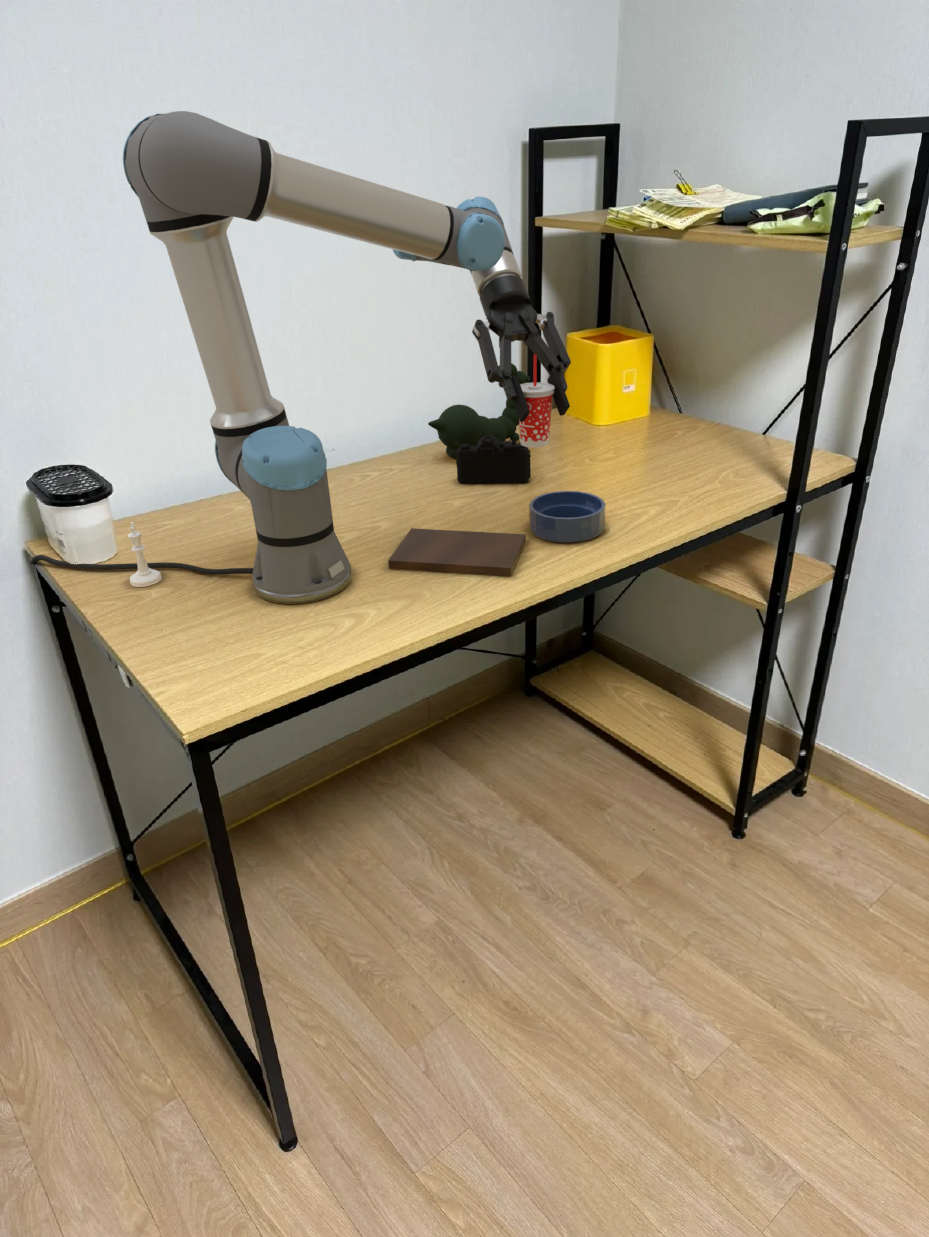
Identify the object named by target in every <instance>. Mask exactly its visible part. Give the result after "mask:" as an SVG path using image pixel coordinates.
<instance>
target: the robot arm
mask: <svg viewBox="0 0 929 1237" xmlns="http://www.w3.org/2000/svg"><path fill="white" fill-rule="evenodd" d="M122 164H123V171H124V175H125V178H126V181H127V183H128V184H129V187H130V188H131V190H132V191H133V193H134V194H135V195H136V196H137V197H138V200H139V203H140V206H141V210H142V212H143V216H144V218H145V222H146V225H147V228H148V232H149V234H150V235H151V236H152V237H154V238H156V239H157V240H159V241H161V242H162V243H163V244H164V246H165V248H166V251H167V255H168V258H169V262H170V265H171V268H172V270H173V274H174V277H175V280H176V283H177V286H178V290H179V293H180V297H181V300H182V302H183V306H184V310H185V312H186V315H187V318H188V323H189V325H190V328H191V332H192V335H193V339H194V342H195V344H196V348H197V351H198V354H199V357H200V360H201V364H202V367H203V370H204V371H203V372H204V373H205V377H206V380H207V383H208V387H209V389H210V393H211V397H212V399H213V402H214V405H215V410H214V412H213V414H212V416H211V417H210V419H209V423H210V426H211V430H212V433H213V436H214V439H215V441H214V454H215V458H216V461H217V465H218V467H219V469H220V471H221V472H222V474H223V476H224V477H225V478H226V479H227V480H228V481H229V482H230V483H232V484H233V485H234V486H235V487H236V488H237V489H238V490H239V491H240V492H241V493H242V494H243V495H244V496H245V497H246V498H247V499H248V500H249V502H250V506H251V511H252V516H253V522H254V527H255V534H256V538H257V546H256V551H255V557H254V563H253V567H232V568H230V567H229V568H207V567H202V566H201V567H200V566H197V565H192V564H189V563H182V562H165V561H163V562H146V563H147V565H148V567H149V568H151V569H152V570H153V569H177V570H185V571H189V572H193V573H196V574H197V573H198V574H200V575H201V574H202V575H208V576H210V575H211V576H223V575H252V585H253V590H254V593H255V594H256V595H257V596H258V597H259V598H261V599H263V600H265V601H267V602H271V603H276V604H282V605H296V604H299V605H300V604H308V603H313V602H317V601H321V600H325V599H328V598H330V597H332V596H335V595H336V594H338V593H340V592H342V591H343V590H344V589H346V588H347V587H348V586H349V585H350V583H351V581H352V579H353V575H352V566H351V564H350V560H349V558H348V557H347V554H346V552H345V550H344V548H343V546H342V544H341V542H340V540H339V538H338V536H337V534H336V532H335V525H334V518H333V510H332V503H331V494H330V493H331V492H330V487H329V479H328V471H327V467H328V465H327V463H328V462H327V457H326V453H325V450H324V447H323V442H322V441H321V439H320V437H318V435H317V434H315V432H313V431H311V430H309V429H306V428H303V427H297V428H296V427H295V426H294V425H293V426H292V425H290V423H289V421H288V420H289V419H288V416H287V412H286V408H285V405H284V403H283V402H282V401H281V400H278V399H277V398H276V397H274V396H273V395H272V394H271V390H270V387H269V384H268V379H267V376H266V373H265V369H264V365H263V362H262V358H261V354H260V350H259V347H258V343H257V339H256V336H255V331H254V329H253V324H252V321H251V318H250V314H249V310H248V306H247V303H246V299H245V296H244V292H243V288H242V285H241V280H240V278H239V273H238V269H237V266H236V263H235V258H234V256H233V251H232V249H231V248H232V247H231V243H230V240H229V236H228V228H229V226H230V225H231V223H232V221H233V219H234V218H239V219H243V220H247V221H251V222H254V223H257V222H259V221H261V220H262V219H264V218H265V217H268V218H272V219H276V220H279V221H282V222H286V223H287V222H288V223H290V224H295V225H299V226H303V227H306V228H310V229H313V230H318V231H321V232H326V233H329V234H333V235H337V236H340V237H344V238H348V239H352V240H356V241H360V242H364V243H367V244H370V245H375V246H379V247H383V248H387V249H391V250H392V252H393V253H394V255H395V256H396V258H398V259H400V260H405V261H406V260H407V261H412V262H416V261H417V262H418V261H419V262H429V263H435V264H440V265H445V266H452V267H456V268H461V269H465V270H468V271H469V273H470V275H471V277H472V281H473V283H474V286H475V289H476V292H477V294H478V297H479V301H480V305H481V306H482V307H481V308H482V310H483V314H484V316H485V317H486V319H484V320H482V319H476V320H475V322H474V325H473V328H472V331H471V333H472V335H473V336H474V338H475V339H476V341H477V343H478V346H479V351H480V355H481V358H482V363H483V365H484V366H483V367H484V370H485V374H486V377H487V381H488V382H489V383H491V384H493V383H495V382H496V383H498V384H497V385H498V387H499V388H501V389H503V391H504V394H505V397H506V400H507V399H508V401H513V403H514V406H515V409H516V412H517V415H518V417H519V420H520V422H523V421H525V419H526V418H527V416H528V414H529V409H528V406H527V403H526V400H525V397H524V394H523V391H522V388H521V386H520V383H519V380H518V377H517V375H515V376H512V378H511V363H512V343H513V342H515V341H518V342H523V344H524V345H525V346H526V347H528V348H529V349H530V350H531V352H532V353H533V355H534V354H537V361H539V362H540V364H541V365H542V366H543V368H544V369H545V371H546V372H547V374H548V375H549V376H548V378H547V379H546V380H547V383H548V384H551V385H553V386H554V387H555V389H554V394H553V398H552V399H553V400H554V401H553V402H554V403H555V406H556V409H557V411H558V415H559V416H560V417H561V416H562V417H563V416H565V415H566V413H568V412H567V411H568V410H569V409H570V408H571V405H570V402H569V399H568V397H567V393H566V392H567V390H568V384H567V380H566V378H565V373H566V372H567V371H568V368H569V367H570V365H571V363H572V360H571V358H570V356H569V354H568V351H567V349H566V347H565V344H564V342H563V340H562V338H561V336H560V332H559V331H558V329H557V327H556V324H555V314H554V313H553V312H552V311H547V312H546V314H542V313H541V314H540V313H537V311H536V310H535V309H534V308H533V307H532V303H531V298H530V295H529V292H528V289H527V286H526V283H525V281H524V280H523V275H522V273H521V269H520V268H519V267H520V266H519V264H518V262H517V260H516V256H515V254H514V251H513V248H512V246H511V242H510V240H509V237H508V233H507V230H506V228H505V223H504V220H503V218H502V216H501V214H500V212H499V211H498V209H497V206H496V204H495V203H494V201H492V200H491V199H489V198H488V197H485V196H475V197H474V198H472V199H470V198H467V199H465V200H463V201H462V202H461V203H459V205H457V207H454V206H450V205H445V204H444V203H441V202H438V201H434V200H431V199H428V198H424V197H422V196H418V195H415V194H412V193H408V192H406V191H402V190H399V189H395V188H392V187H389V186H385V185H383V184H379V183H377V182H373V181H369V180H366V179H363V178H359V177H357V176H353V175H350V174H346V173H345V172H344V173H343V172H340V171H336V170H334V169H331V168H327V167H324V166H321V165H318V164H314V163H311V162H309V161H305V160H302V159H297V158H294V157H291V156H288V155H285V154H282V153H280V152H279V153H278V152H276V151H275V149H274V147H273V146H272V143H271V142H270V141H269V140H266V139H263V138H259V137H258V136H254V135H251V134H248V133H245V132H243V131H240V130H238V129H235V128H233V127H230V126H229V125H226V124H224V123H222V122H219V121H217V120H215V119H212V118H209V117H207V116H206V115H203V114H199V113H197V112H192V111H188V110H177V111H171V112H167V113H156V114H153V115H149V116H146V117H144V118H143V119H142V120H140V121H138V123H136V124H135V126H134V127H133V128H132V129H131V130H130V132H129V134H128V135H127V138H126V140H125V142H124V146H123V150H122ZM535 324H537V325H538V327H539V329H538V327H537V326H536V325H535ZM490 331H491V332H493V333H494V334H495V335H497V337H498V348H499V364H498V361H497V356H496V352H495V349H494V345H493V341H492V337H491V334H490ZM540 331H542V335H543V338H542V336H541V335H540ZM499 365H500V370H499V367H498V366H499ZM39 561H42V562H46V563H48V564H50V565H52V566H53V565H54V566H56V567H62V568H69V569H79V570H89V571H117V570H118V571H120V570H138V565H137V562H136V563H135V562H133V563H101V564H100V563H83V564H77V565H76V564H75V565H74V564H70V563H67V562H68V561H66V562H64V561H65V560H60V559H59V560H58V559H56V558H53V557H50V556H48V555H45V554H37V555H35V556H33V557H32V558H31V560H30V561H29V564H31V565H33V564H37V563H38V562H39Z"/></svg>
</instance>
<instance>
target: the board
mask: <svg viewBox="0 0 929 1237" xmlns="http://www.w3.org/2000/svg"><path fill="white" fill-rule="evenodd" d="M526 543H527V535H526V533H509V532H492V531H491V532H490V531H474V530H473V531H472V530H471V531H470V530H453V529H452V530H451V529H434V528H433V529H432V528H413V527H411V528H410V529H409V531H408V532H407V533H406V535H405V536H404V538H403V539H402V540H401V542H400V543H399V544H398V546H397V547H396V548H395V550H394V552H393V553H392V554H391V555H390V556H389V558H388V560H387V563H388V570H389V569H390V570H403V571H417V572H418V571H419V572H432V573H433V572H435V573H449V574H450V573H452V574H466V575H481V576H482V575H483V576H496V577H497V576H498V577H512V576H513V573H514V571H515V568H516V567H517V565H518V562H519V560H520V557H521V555H522V552H523V550H524V548H525V546H526Z"/></svg>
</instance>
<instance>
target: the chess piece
mask: <svg viewBox="0 0 929 1237" xmlns="http://www.w3.org/2000/svg"><path fill="white" fill-rule="evenodd" d="M129 524H130V531H131V532H130V533H128V535H127V537H128V539H129V540H130V542H131V544H132V545H133V546H131V549H130V551H131V552H134V553H135V557H136V563H137V565H138V569H136V572H135V573H133V574H131V576H130V577H129V584H130V585H131V586H133V587H136V588H144V587H145V588H146V587H149V586H153V585H155V584H158V583H159V582H160V581H161V580H162V579H163V576H162V574H161V573H162V572H160V571H159V570H157V569H153V568H152V569H151V568H149V567H148V565H147V563H148V562H147V561H146V558H145V556H144V553H143V551H145V549H146V546H145V545H144V544H142V532H140V531H137V530H136V526H135V524H134V521H130V522H129Z"/></svg>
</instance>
